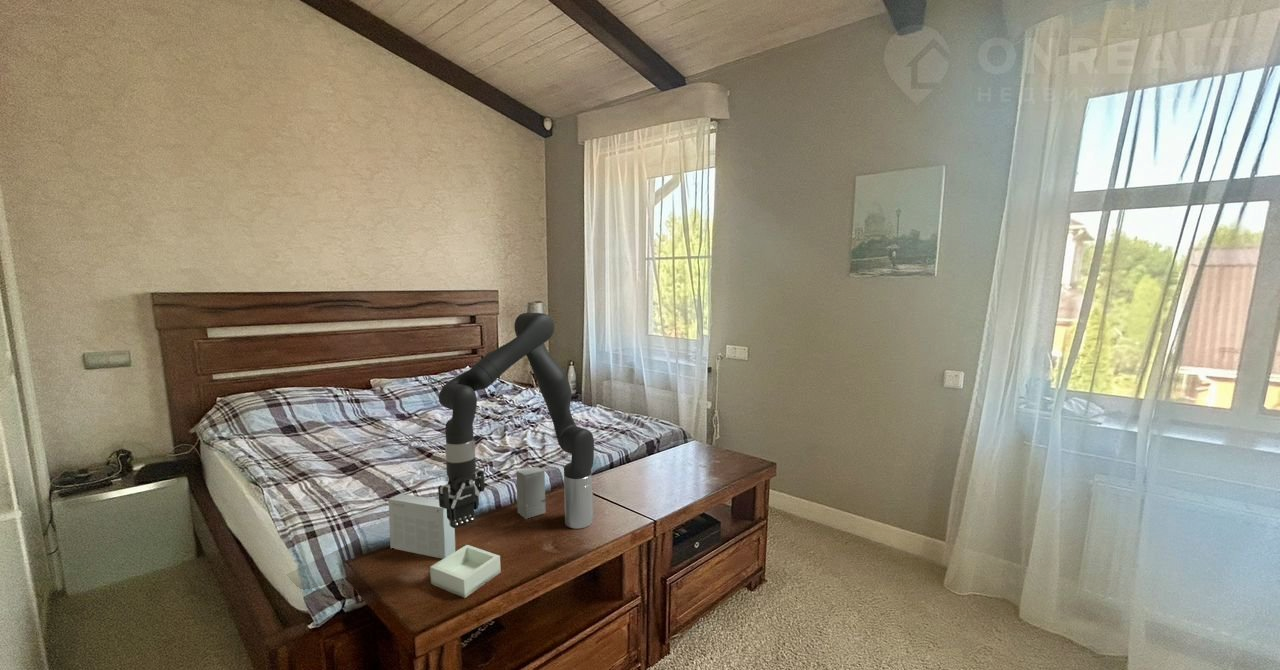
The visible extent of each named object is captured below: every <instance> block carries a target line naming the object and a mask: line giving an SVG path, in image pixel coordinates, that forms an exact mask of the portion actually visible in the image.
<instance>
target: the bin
mask: <svg viewBox="0 0 1280 670" xmlns="http://www.w3.org/2000/svg"><path fill="white" fill-rule="evenodd" d="M429 568H430V569H429V572H430V583H431V585H433V586H435V587H437V588H440V589H442V590H445V591H446V592H449V593H452V594H454V595H457V596H459V597H462V598H463V599H465V598H467V597H468V596H471V594H473V593H474V592H475V591H477V590H478V589H480V588H481V587H482V586H484V585H486V582H487V583H488V582H490V581H491V580H493V579H494V578H495V577H496V576H498V575H499V574H500V573H502V572H501V571H502V570H501V555H499V554H496V553H493V552H489V551H487V550H484V549H481V548H478V547H475V546H472V545H469V544H466V545H464V546H462V547H461V548H459V549H456V550H455V552H454V553H452V554H451V555H449V556H447V557H446V558H444V559H441V560H439V561H437V562H436V563H434V564H432V565H431V566H430V567H429Z"/></svg>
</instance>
